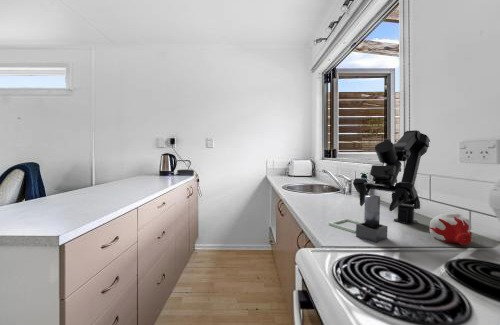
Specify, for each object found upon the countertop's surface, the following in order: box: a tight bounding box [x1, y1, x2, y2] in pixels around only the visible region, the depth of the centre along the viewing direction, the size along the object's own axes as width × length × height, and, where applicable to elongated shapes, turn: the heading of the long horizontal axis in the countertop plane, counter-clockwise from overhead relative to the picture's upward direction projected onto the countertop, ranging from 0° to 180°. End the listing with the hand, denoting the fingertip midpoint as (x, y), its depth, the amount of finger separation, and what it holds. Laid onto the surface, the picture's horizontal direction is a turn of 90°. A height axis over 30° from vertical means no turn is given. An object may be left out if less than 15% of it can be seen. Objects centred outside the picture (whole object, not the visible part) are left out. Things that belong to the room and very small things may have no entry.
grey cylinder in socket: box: [355, 194, 388, 244], centre depth 78 cm, size 7×7×14 cm
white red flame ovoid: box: [428, 212, 473, 246], centre depth 76 cm, size 9×11×15 cm
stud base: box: [354, 235, 388, 244], centre depth 78 cm, size 7×7×4 cm
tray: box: [328, 218, 364, 234], centre depth 90 cm, size 11×11×2 cm
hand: (374, 207), depth 79 cm, fingers open, 9 cm apart
